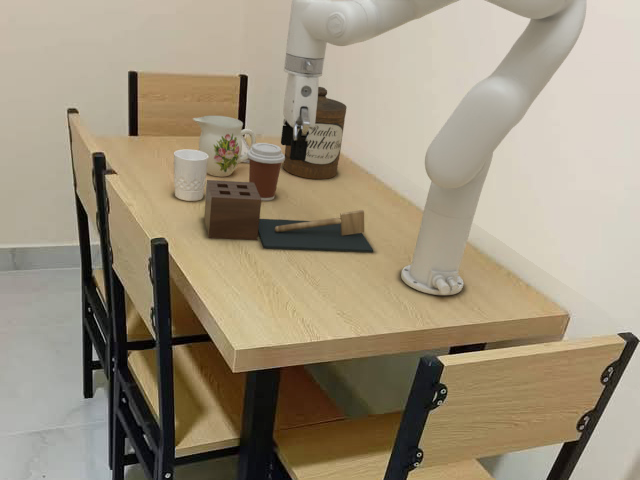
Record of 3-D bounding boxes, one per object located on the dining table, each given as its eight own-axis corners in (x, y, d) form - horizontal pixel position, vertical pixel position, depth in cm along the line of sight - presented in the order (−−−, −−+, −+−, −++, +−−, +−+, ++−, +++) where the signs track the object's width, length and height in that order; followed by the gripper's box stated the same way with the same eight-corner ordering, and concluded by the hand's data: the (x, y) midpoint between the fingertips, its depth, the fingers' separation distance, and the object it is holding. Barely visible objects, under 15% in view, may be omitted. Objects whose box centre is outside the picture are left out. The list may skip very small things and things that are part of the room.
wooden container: (290, 178, 195) (301, 92, 183) (277, 160, 207) (287, 78, 195) (343, 180, 199) (357, 96, 187) (327, 162, 211) (340, 82, 199)
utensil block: (257, 239, 158) (261, 199, 153) (208, 237, 156) (211, 197, 151) (250, 221, 166) (254, 182, 162) (203, 219, 164) (206, 179, 159)
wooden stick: (276, 245, 162) (364, 232, 164) (274, 224, 159) (364, 211, 161) (275, 243, 163) (362, 230, 165) (273, 222, 160) (362, 209, 163)
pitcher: (261, 177, 193) (267, 124, 186) (198, 181, 185) (202, 125, 177) (242, 163, 201) (247, 112, 194) (181, 166, 192) (184, 113, 185)
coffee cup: (287, 200, 181) (293, 151, 174) (256, 204, 176) (261, 154, 169) (266, 187, 187) (271, 140, 180) (235, 191, 182) (240, 142, 175)
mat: (373, 252, 159) (373, 250, 159) (264, 248, 154) (264, 245, 154) (354, 225, 172) (355, 223, 172) (253, 220, 167) (253, 218, 166)
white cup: (200, 204, 171) (202, 162, 166) (167, 198, 172) (169, 156, 167) (209, 194, 178) (212, 153, 173) (178, 188, 179) (180, 147, 173)
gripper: (333, 76, 137) (319, 167, 146) (313, 57, 151) (301, 141, 160) (293, 73, 135) (282, 164, 144) (277, 54, 149) (267, 138, 158)
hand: (292, 152), depth 152 cm, fingers open, 9 cm apart
